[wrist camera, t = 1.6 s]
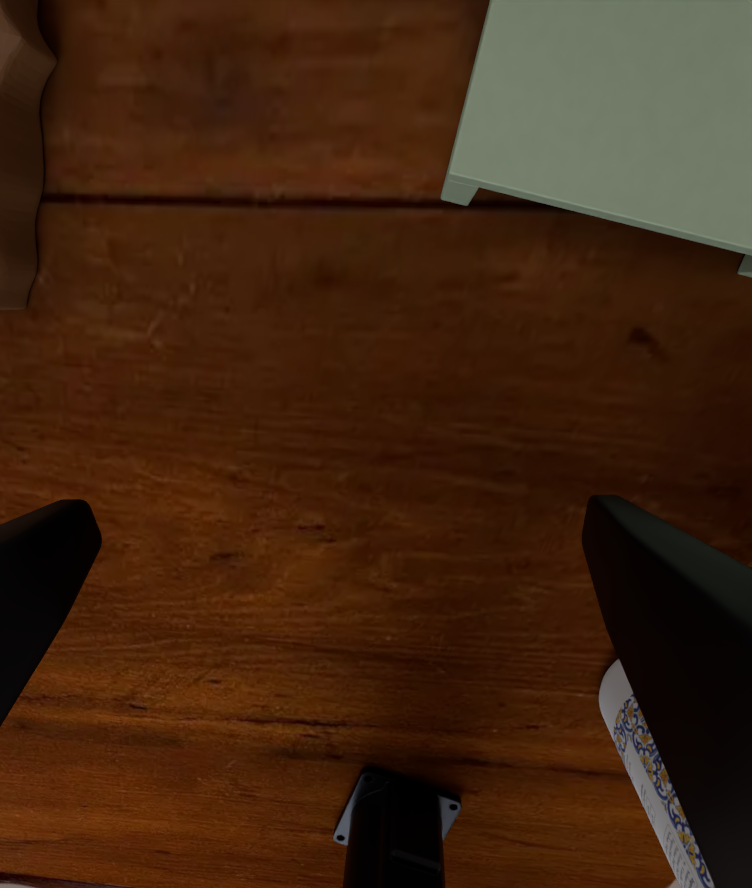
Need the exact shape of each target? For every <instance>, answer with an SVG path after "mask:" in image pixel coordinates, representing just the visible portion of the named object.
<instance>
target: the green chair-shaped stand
mask: <svg viewBox="0 0 752 888" xmlns="http://www.w3.org/2000/svg"><path fill="white" fill-rule="evenodd" d="M479 187H480V188H484V189H488V190H492V191H496V192H500V193H504V194H508V195H512V196H516V197H520V198H524V199H528V200H532V201H536V202H540V203H544V204H548V205H552V206H556V207H560V208H564V209H568V210H572V211H576V212H580V213H584V214H588V215H592V216H596V217H600V218H604V219H607V220H611V221H615V222H619V223H623V224H627V225H631V226H635V227H639V228H643V229H647V230H651V231H655V232H659V233H663V234H667V235H671V236H675V237H679V238H683V239H687V240H691V241H695V242H699V243H703V244H707V245H711V246H715V247H719V248H723V249H727V250H731V251H735V252H739V253H743V254H745V256H744V258H743V261H742V263H741V265H740V267H739V270H738V272H737V274H740V275H744V276H748V277H752V0H490V2H489V6H488V10H487V14H486V18H485V22H484V26H483V30H482V34H481V38H480V42H479V46H478V50H477V54H476V58H475V62H474V66H473V70H472V74H471V78H470V82H469V86H468V90H467V94H466V98H465V102H464V106H463V110H462V114H461V118H460V122H459V126H458V130H457V134H456V138H455V142H454V146H453V150H452V154H451V158H450V162H449V166H448V170H447V174H446V178H445V182H444V186H443V190H442V194H441V199H442V200H445V201H449V202H453V203H457V204H461V205H465V206H467V205H468V204H469V203H470V201H471V199H472V198H473V196H474V195H475V193H476V192H477V190H478V188H479Z"/></svg>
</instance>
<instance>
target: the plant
mask: <svg viewBox="0 0 752 888" xmlns="http://www.w3.org/2000/svg"><path fill="white" fill-rule="evenodd" d="M37 9H38V0H0V310H23V309H25V308H26V306H27V299H28V294H29V291H30V287H31V285H32V283H33V280H34V278H35V276H36V273H37V263H38V259H37V250H36V240H35V220H36V214H37V209H38V205H39V202H40V198H41V194H42V191H43V182H44V163H43V142H42V133H41V125H40V117H39V108H40V99H41V95H42V92H43V88H44V86H45V84H46V81H47V79H48V77H49V75H50V74H51V72H52V71H53V69H54V68H55V66H56V63H57V60H56V58H55V56H54V54H53V53H52V52H51V50H50V49H49V47H48V46H47V44H46V43H45V41H44V39H43V38H42V35H41V33H40V31H39V27H38V20H37Z"/></svg>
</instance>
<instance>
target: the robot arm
mask: <svg viewBox="0 0 752 888" xmlns="http://www.w3.org/2000/svg"><path fill="white" fill-rule="evenodd" d="M101 544H102V537H101V533H100V530H99V528H98V525H97V523H96V520H95V517H94V515H93V512H92V510H91V507H90V505H89V504H88V503H87V502H86V501H84V500H81V499H72V500H59V501H57V502H54V503H52V504H49V505H47V506H45V507H42V508H40V509H37V510H35V511H33V512H30V513H28V514H25V515H23V516H20V517H18V518H16V519H13V520H11V521H8V522H6V523H4V524H1V525H0V726H1V725H2V723H3V721H4V720H5V718H6V717H7V715H8V713H9V712H10V710H11V708H12V707H13V705H14V704H15V702H16V700H17V699H18V697H19V695H20V694H21V692H22V690H23V689H24V687H25V686H26V684H27V682H28V681H29V679H30V677H31V676H32V674H33V672H34V671H35V669H36V668H37V666H38V664H39V663H40V661H41V659H42V658H43V656H44V655H45V653H46V651H47V650H48V648H49V646H50V645H51V643H52V641H53V640H54V638H55V637H56V635H57V633H58V632H59V630H60V628H61V626H62V625H63V623H64V621H65V619H66V617H67V615H68V613H69V612H70V610H71V608H72V606H73V604H74V601H75V599H76V597H77V595H78V593H79V591H80V589H81V587H82V585H83V583H84V581H85V579H86V577H87V575H88V573H89V571H90V569H91V567H92V565H93V563H94V560H95V558H96V556H97V554H98V552H99V550H100V548H101ZM582 546H583V550H584V554H585V557H586V561H587V564H588V568H589V571H590V574H591V578H592V581H593V585H594V588H595V592H596V595H597V599H598V602H599V606H600V609H601V613H602V616H603V619H604V622H605V625H606V628H607V631H608V633H609V636H610V639H611V641H612V644H613V646H614V648H615V651H616V653H617V655H618V658H619V660H620V663H621V665H622V667H623V670H624V672H625V675H626V677H627V679H628V682H629V684H630V686H631V689H632V691H633V694H634V696H635V698H636V701H637V703H638V705H639V708H640V710H641V713H642V715H643V717H644V720H645V722H646V724H647V727H648V729H649V732H650V734H651V736H652V739H653V741H654V744H655V746H656V748H657V751H658V753H659V755H660V758H661V760H662V763H663V765H664V767H665V770H666V772H667V774H668V777H669V779H670V782H671V784H672V786H673V789H674V791H675V793H676V796H677V798H678V801H679V803H680V805H681V808H682V810H683V813H684V815H685V817H686V820H687V822H688V824H689V827H690V829H691V832H692V834H693V836H694V839H695V841H696V843H697V846H698V848H699V851H700V853H701V855H702V858H703V860H704V862H705V865H706V867H707V870H708V872H709V874H710V877H711V879H712V882H713V884H714V886H715V888H752V568H750V567H748V566H746V565H745V564H743V563H741V562H739V561H737V560H735V559H734V558H732V557H730V556H728V555H726V554H724V553H723V552H721V551H719V550H717V549H715V548H713V547H712V546H710V545H708V544H706V543H704V542H702V541H700V540H699V539H697V538H695V537H693V536H691V535H689V534H688V533H686V532H684V531H682V530H680V529H678V528H677V527H675V526H673V525H671V524H669V523H667V522H666V521H664V520H662V519H660V518H658V517H656V516H655V515H653V514H651V513H649V512H647V511H645V510H644V509H642V508H640V507H638V506H636V505H634V504H633V503H631V502H629V501H627V500H625V499H623V498H621V497H620V496H618V495H593V496H591V497H590V499H589V501H588V504H587V509H586V514H585V520H584V525H583V531H582ZM461 809H462V804H461V798H460V797H459V796H457V795H454V794H451V793H448V792H445V791H442V790H439V789H436V788H433V787H430V786H427V785H424V784H421V783H418V782H415V781H412V780H409V779H406V778H403V777H400V776H397V775H394V774H391V773H388V772H385V771H382V770H379V769H376V768H373V767H365V768H363V769H362V770H361V773H360V775H359V777H358V779H357V781H356V783H355V786H354V788H353V790H352V792H351V794H350V796H349V798H348V801H347V803H346V805H345V807H344V809H343V811H342V813H341V816H340V818H339V820H338V822H337V824H336V826H335V829H334V834H333V839H334V841H335V842H337V843H339V844H343V845H346V846H347V853H346V862H345V871H344V880H343V888H445V873H444V856H443V840H444V839H445V837H446V835H447V833H448V832H449V830H450V828H451V826H452V825H453V823H454V821H455V820H456V818H457V816H458V814H459V813H460V811H461Z"/></svg>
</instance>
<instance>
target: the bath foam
mask: <svg viewBox="0 0 752 888" xmlns="http://www.w3.org/2000/svg"><path fill="white" fill-rule="evenodd" d="M599 706H600V710H601V713H602V716H603V718H604V720H605V723H606V725H607V727H608V729H609V732H610V734H611V736H612V738H613V740H614V742H615V745H616V748H617V750H618V752H619V754H620V756H621V759H622V761H623V763H624V765H625V767H626V769H627V772H628V774H629V776H630V778H631V780H632V783H633V785H634V787H635V789H636V791H637V793H638V796H639V798H640V800H641V802H642V804H643V807H644V809H645V811H646V813H647V815H648V817H649V820H650V822H651V824H652V826H653V828H654V831H655V833H656V835H657V837H658V839H659V841H660V844H661V846H662V848H663V850H664V852H665V855H666V857H667V859H668V861H669V863H670V865H671V868H672V870H673V872H674V874H675V876H676V879H677V881H678V883H679V885H680V887H681V888H715V886H714V884H713V882H712V879H711V877H710V874H709V872H708V870H707V867H706V865H705V862H704V860H703V858H702V855H701V853H700V851H699V848H698V846H697V843H696V841H695V839H694V836H693V834H692V832H691V829H690V827H689V824H688V822H687V820H686V817H685V815H684V813H683V810H682V808H681V805H680V803H679V801H678V798H677V796H676V793H675V791H674V789H673V786H672V784H671V782H670V779H669V777H668V774H667V772H666V770H665V767H664V765H663V763H662V760H661V758H660V755H659V753H658V751H657V748H656V746H655V744H654V741H653V739H652V736H651V734H650V732H649V729H648V727H647V724H646V722H645V720H644V717H643V715H642V713H641V710H640V708H639V705H638V703H637V701H636V698H635V696H634V694H633V691H632V689H631V686H630V684H629V682H628V679H627V677H626V675H625V672H624V670H623V667H622V665H621V663H620V660H619V659H617V660H616V661H615V662H614V663H613V664H612V665H611V666H610V668H609V669H608V670H607V672H606V674H605V675H604V677H603V680H602V683H601V687H600V692H599Z"/></svg>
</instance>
